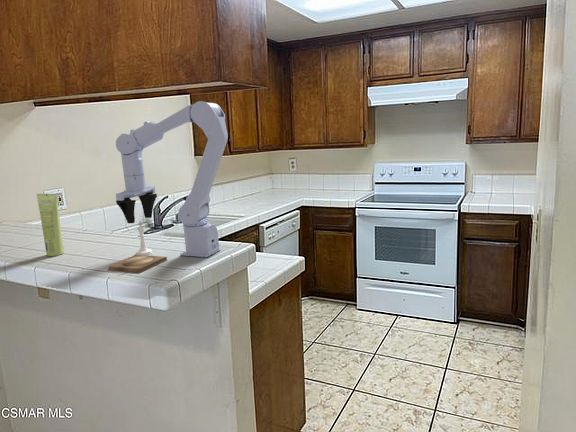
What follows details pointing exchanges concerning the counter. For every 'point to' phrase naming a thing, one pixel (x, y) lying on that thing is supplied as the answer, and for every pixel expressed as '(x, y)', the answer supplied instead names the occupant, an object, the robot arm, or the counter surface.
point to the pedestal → (137, 263)
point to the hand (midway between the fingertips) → (139, 220)
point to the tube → (50, 224)
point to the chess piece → (142, 242)
